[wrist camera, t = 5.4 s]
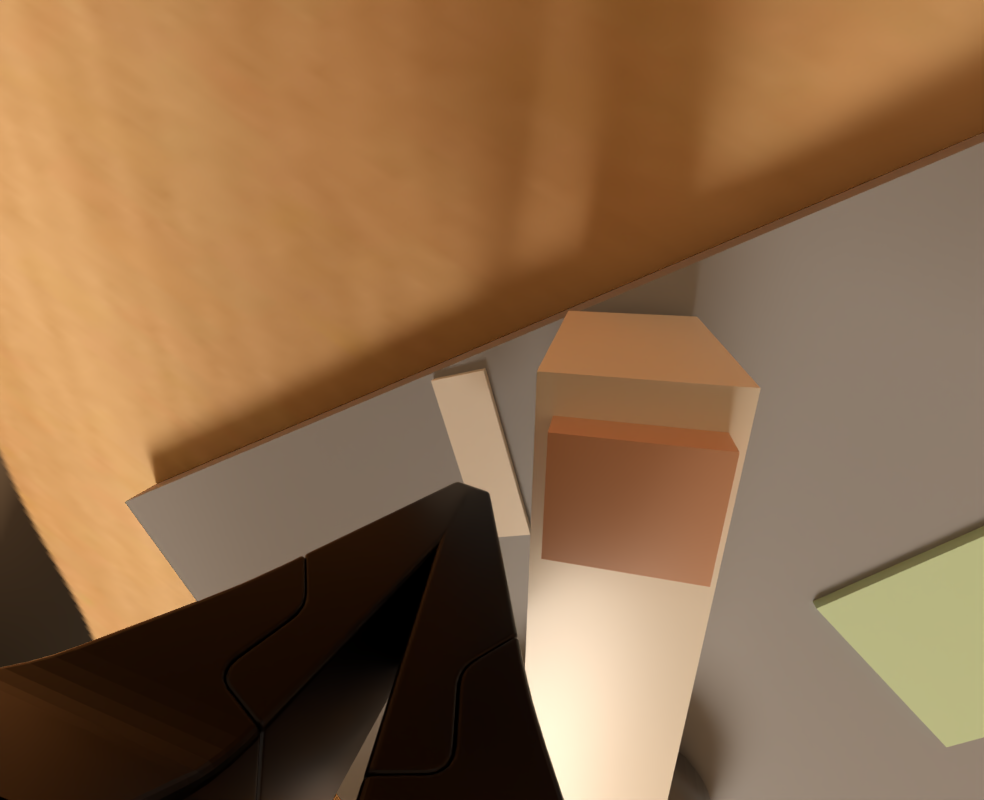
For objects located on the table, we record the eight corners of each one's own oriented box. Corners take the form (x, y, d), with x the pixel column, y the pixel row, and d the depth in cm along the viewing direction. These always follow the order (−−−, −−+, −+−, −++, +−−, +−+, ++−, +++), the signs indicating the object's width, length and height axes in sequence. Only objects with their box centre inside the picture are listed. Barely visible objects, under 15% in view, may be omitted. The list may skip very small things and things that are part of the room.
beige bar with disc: (689, 898, 14) (720, 1167, 10) (461, 827, 15) (409, 1035, 11) (857, 323, 7) (1120, 433, 4) (444, 304, 9) (316, 366, 5)
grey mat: (465, 927, 20) (456, 968, 19) (154, 484, 15) (118, 505, 14) (1233, 1003, 12) (1296, 1082, 11) (1143, 64, 7) (1250, 31, 5)
